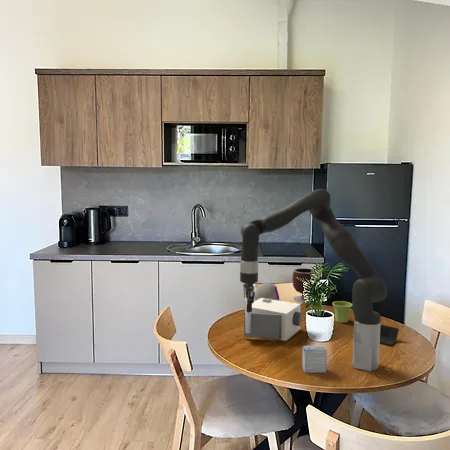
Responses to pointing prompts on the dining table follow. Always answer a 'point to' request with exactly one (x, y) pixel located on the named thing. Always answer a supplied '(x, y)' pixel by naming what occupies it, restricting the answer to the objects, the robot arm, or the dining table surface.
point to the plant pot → (342, 311)
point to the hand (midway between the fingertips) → (248, 310)
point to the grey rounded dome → (267, 291)
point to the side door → (262, 325)
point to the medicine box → (314, 359)
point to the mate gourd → (299, 284)
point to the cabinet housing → (287, 309)
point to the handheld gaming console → (388, 335)
